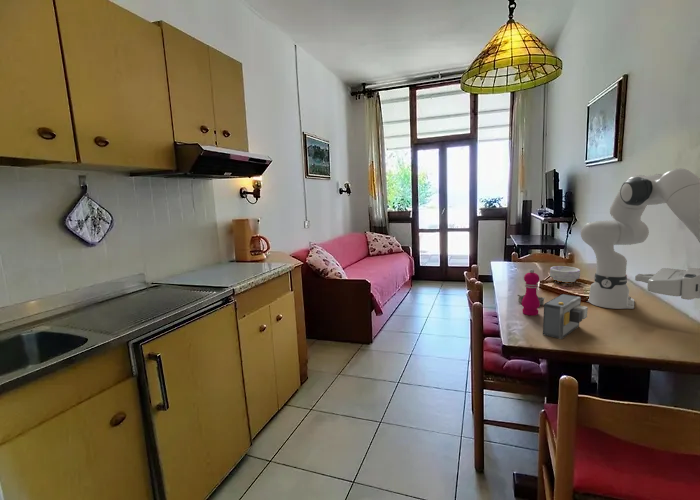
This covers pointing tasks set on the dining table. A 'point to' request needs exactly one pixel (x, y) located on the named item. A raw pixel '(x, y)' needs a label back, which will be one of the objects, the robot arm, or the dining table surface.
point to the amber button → (566, 318)
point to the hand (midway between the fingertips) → (636, 277)
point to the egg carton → (537, 296)
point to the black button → (575, 315)
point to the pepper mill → (531, 294)
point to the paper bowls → (565, 273)
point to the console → (559, 316)
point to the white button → (583, 310)
